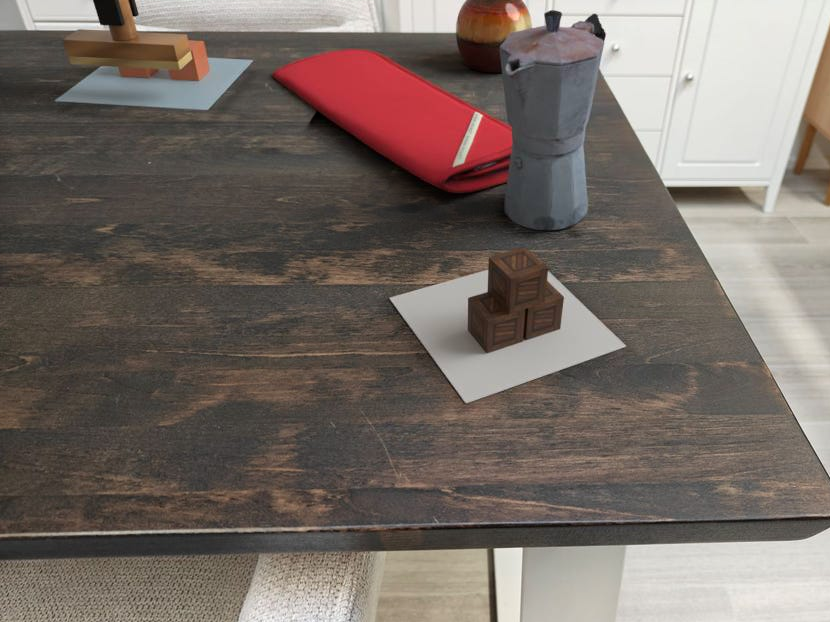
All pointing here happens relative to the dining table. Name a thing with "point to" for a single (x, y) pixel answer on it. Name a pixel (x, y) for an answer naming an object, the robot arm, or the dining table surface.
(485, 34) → the vase
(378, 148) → the dish drying mat
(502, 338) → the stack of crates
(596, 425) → the dining table surface
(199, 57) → the right orange cube
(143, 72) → the orange cube
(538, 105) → the moka pot
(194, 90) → the tray
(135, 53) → the brush
